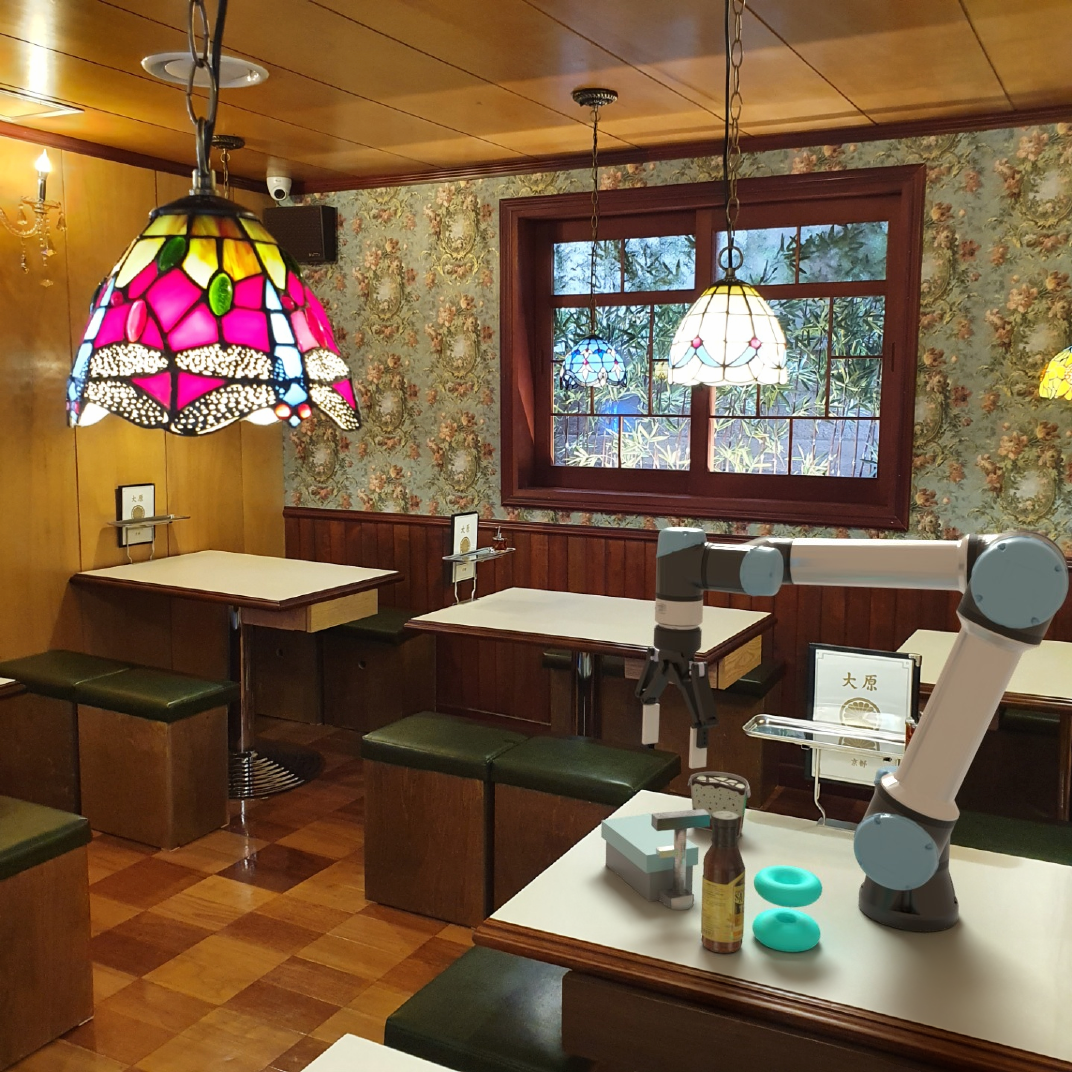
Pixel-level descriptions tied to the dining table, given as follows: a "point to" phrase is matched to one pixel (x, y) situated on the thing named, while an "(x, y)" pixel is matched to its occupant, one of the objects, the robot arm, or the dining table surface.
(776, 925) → the donuts
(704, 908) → the sauce bottle
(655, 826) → the key
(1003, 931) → the dining table surface
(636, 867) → the case
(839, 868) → the dining table surface
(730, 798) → the food container
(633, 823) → the cover
